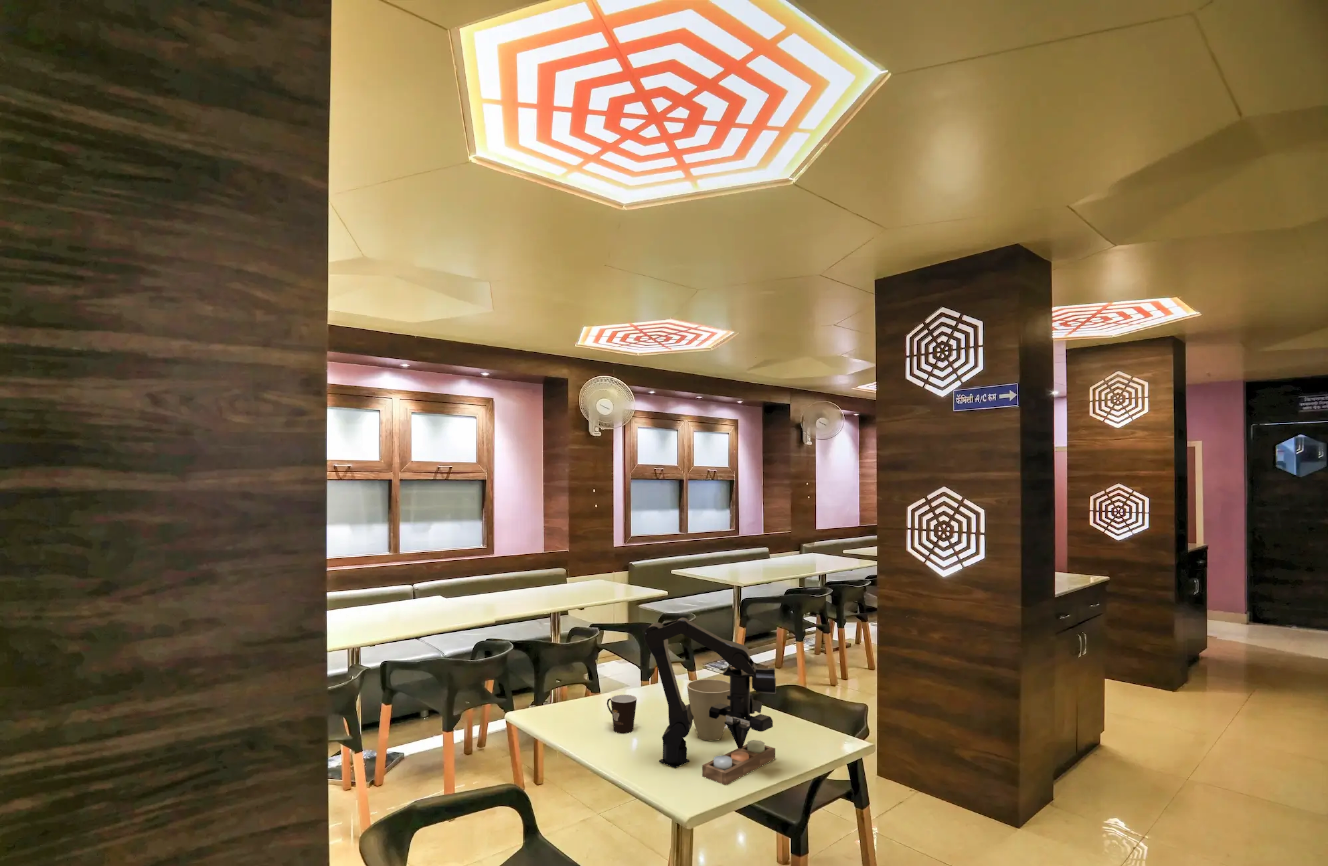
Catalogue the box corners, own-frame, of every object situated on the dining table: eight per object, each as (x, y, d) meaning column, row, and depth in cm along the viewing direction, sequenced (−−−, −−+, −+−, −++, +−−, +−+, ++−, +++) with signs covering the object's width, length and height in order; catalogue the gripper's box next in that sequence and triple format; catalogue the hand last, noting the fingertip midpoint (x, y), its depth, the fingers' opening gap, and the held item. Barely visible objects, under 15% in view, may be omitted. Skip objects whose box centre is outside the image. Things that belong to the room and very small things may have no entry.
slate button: (710, 770, 179) (709, 759, 179) (721, 765, 183) (721, 754, 183) (724, 775, 176) (724, 764, 176) (735, 770, 179) (735, 758, 180)
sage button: (744, 754, 191) (744, 743, 191) (753, 749, 195) (753, 738, 195) (758, 758, 188) (758, 747, 188) (768, 753, 191) (767, 743, 191)
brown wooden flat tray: (702, 776, 179) (702, 765, 179) (752, 751, 197) (752, 741, 197) (725, 785, 174) (725, 773, 174) (775, 759, 191) (775, 748, 191)
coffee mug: (640, 732, 212) (640, 700, 213) (614, 736, 209) (615, 703, 210) (628, 721, 223) (629, 691, 224) (604, 724, 220) (604, 693, 221)
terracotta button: (727, 765, 185) (727, 754, 185) (738, 760, 189) (737, 749, 189) (742, 770, 182) (741, 759, 182) (752, 765, 185) (752, 754, 186)
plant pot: (678, 740, 206) (679, 687, 207) (698, 725, 219) (698, 676, 220) (722, 748, 199) (722, 694, 200) (740, 733, 212) (740, 682, 213)
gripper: (783, 691, 187) (783, 748, 185) (730, 679, 199) (730, 732, 198) (761, 700, 179) (761, 760, 177) (707, 687, 191) (707, 742, 189)
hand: (740, 748), depth 185 cm, fingers closed
